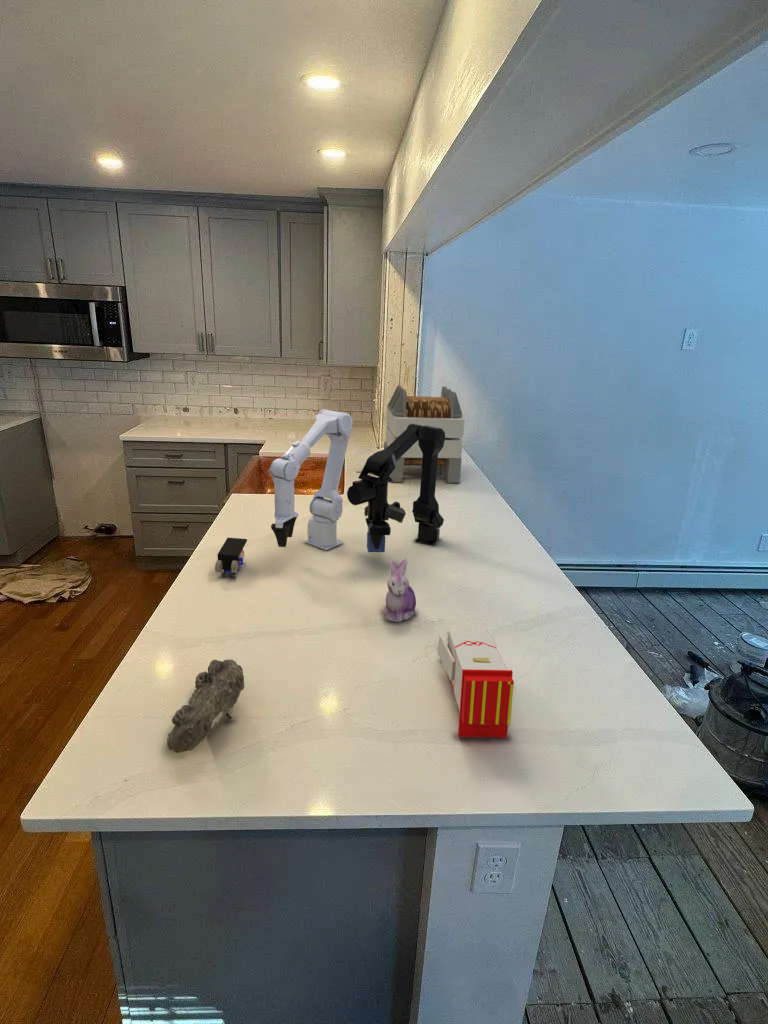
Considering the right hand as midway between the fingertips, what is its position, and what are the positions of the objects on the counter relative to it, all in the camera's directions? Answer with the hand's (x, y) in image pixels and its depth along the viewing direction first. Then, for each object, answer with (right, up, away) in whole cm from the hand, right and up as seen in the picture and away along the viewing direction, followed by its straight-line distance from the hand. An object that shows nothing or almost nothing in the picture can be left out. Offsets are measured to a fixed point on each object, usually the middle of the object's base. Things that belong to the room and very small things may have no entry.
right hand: (375, 545), depth 175 cm
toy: (+20, -27, -56) cm, 66 cm away
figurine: (+7, -16, -27) cm, 32 cm away
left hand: (-27, +1, -3) cm, 28 cm away
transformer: (+20, +29, +100) cm, 106 cm away
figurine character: (-42, -7, -7) cm, 43 cm away
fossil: (-30, -29, -67) cm, 79 cm away
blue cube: (0, -1, 0) cm, 1 cm away
